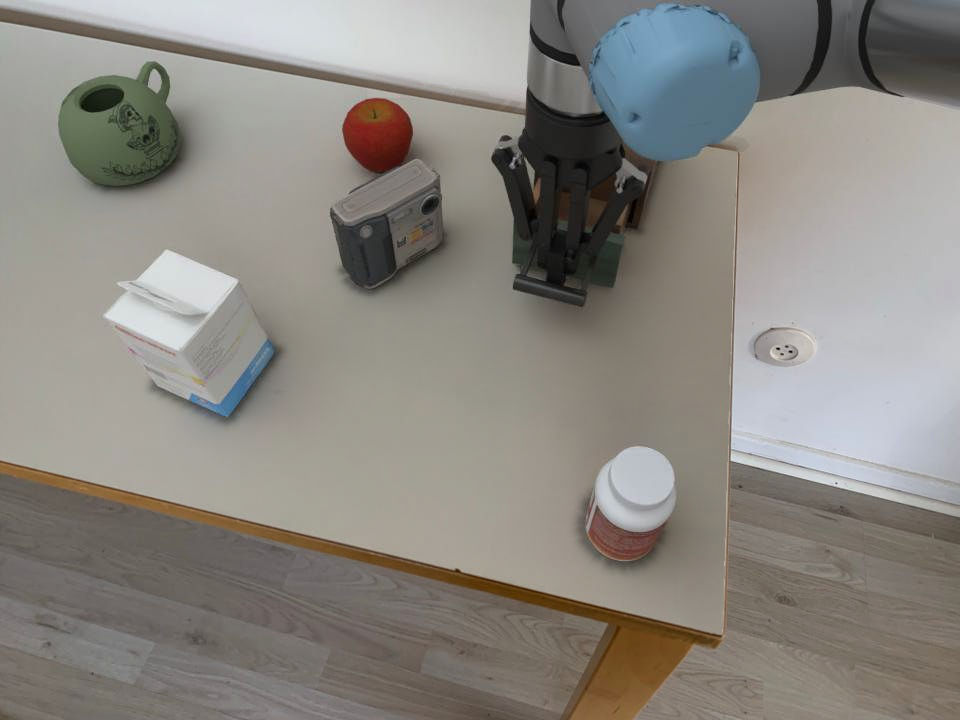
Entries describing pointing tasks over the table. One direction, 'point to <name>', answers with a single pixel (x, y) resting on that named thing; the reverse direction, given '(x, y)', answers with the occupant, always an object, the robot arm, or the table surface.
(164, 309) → the ink box
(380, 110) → the apple
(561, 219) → the drawer
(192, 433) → the table surface
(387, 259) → the camera
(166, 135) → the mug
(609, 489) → the pill bottle
